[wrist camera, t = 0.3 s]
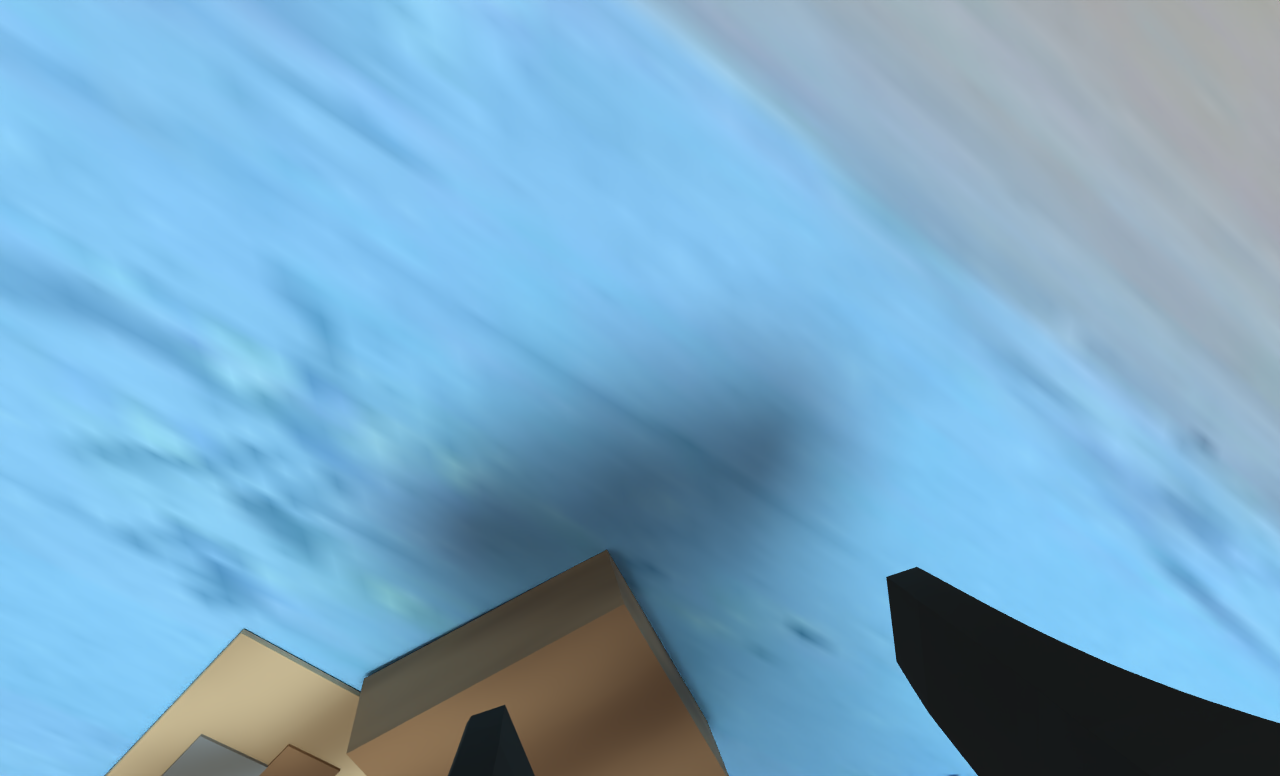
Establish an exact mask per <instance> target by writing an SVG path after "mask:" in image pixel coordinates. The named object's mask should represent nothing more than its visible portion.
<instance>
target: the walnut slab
mask: <svg viewBox="0 0 1280 776" xmlns="http://www.w3.org/2000/svg"><path fill="white" fill-rule="evenodd" d="M502 705H505V706H506V708H507V710H508V713H509V715H510V717H511V720H512V722H513V725H514V727H515V729H516V732H517V734H518V737H519V739H520V741H521V744H522V746H523V749H524V751H525V753H526V756H527V758H528V760H529V763H530V765H531V768H532V770H533V772H534V775H535V776H729V775H728V773H727V770H726V767H725V765H724V762H723V760H722V757H721V755H720V752H719V750H718V747H717V745H716V742H715V740H714V737H713V735H712V732H711V730H710V727H709V725H708V722H707V720H706V719H705V717H704V715H703V713H702V712H701V710H700V708H699V707H698V705H697V703H696V701H695V700H694V698H693V696H692V695H691V693H690V691H689V689H688V688H687V686H686V684H685V683H684V681H683V679H682V677H681V676H680V674H679V672H678V671H677V669H676V667H675V665H674V664H673V662H672V660H671V659H670V657H669V655H668V653H667V652H666V650H665V648H664V647H663V645H662V643H661V641H660V640H659V638H658V636H657V635H656V633H655V631H654V629H653V628H652V626H651V624H650V623H649V621H648V619H647V617H646V616H645V614H644V612H643V611H642V609H641V607H640V605H639V604H638V602H637V600H636V599H635V597H634V595H633V593H632V592H631V590H630V588H629V587H628V585H627V583H626V581H625V580H624V578H623V576H622V575H621V573H620V571H619V569H618V568H617V566H616V564H615V563H614V561H613V559H612V557H611V556H610V554H609V552H608V551H607V550H605V551H603V552H601V553H599V554H598V555H596V556H594V557H592V558H590V559H588V560H586V561H584V562H582V563H580V564H578V565H576V566H574V567H572V568H570V569H568V570H567V571H565V572H563V573H561V574H559V575H557V576H555V577H553V578H552V579H550V580H548V581H546V582H544V583H542V584H540V585H539V586H537V587H535V588H533V589H531V590H529V591H527V592H525V593H524V594H522V595H520V596H518V597H516V598H514V599H512V600H510V601H509V602H507V603H505V604H503V605H501V606H499V607H497V608H495V609H494V610H492V611H490V612H488V613H486V614H484V615H482V616H481V617H479V618H477V619H475V620H473V621H471V622H469V623H467V624H466V625H464V626H462V627H460V628H458V629H456V630H454V631H452V632H451V633H449V634H447V635H445V636H443V637H441V638H439V639H438V640H436V641H434V642H432V643H430V644H428V645H426V646H424V647H423V648H421V649H419V650H417V651H415V652H413V653H411V654H409V655H408V656H406V657H404V658H402V659H400V660H398V661H396V662H395V663H393V664H391V665H389V666H387V667H385V668H383V669H381V670H380V671H378V672H376V673H374V674H372V675H370V676H368V677H366V678H365V679H364V681H363V685H362V689H361V693H360V698H359V702H358V706H357V710H356V715H355V719H354V723H353V727H352V732H351V736H350V740H349V744H348V749H347V753H346V754H347V755H348V756H349V758H350V759H351V760H352V761H353V762H354V763H355V764H356V765H357V766H358V767H359V768H360V769H361V770H362V771H363V773H364V774H365V775H366V776H448V773H449V771H450V768H451V765H452V763H453V760H454V757H455V755H456V752H457V749H458V746H459V743H460V741H461V738H462V735H463V732H464V729H465V727H466V724H467V722H468V720H469V718H470V717H471V716H472V715H475V714H478V713H481V712H484V711H487V710H490V709H493V708H496V707H499V706H502Z"/></svg>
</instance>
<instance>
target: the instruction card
mask: <svg viewBox="0 0 1280 776" xmlns="http://www.w3.org/2000/svg"><path fill="white" fill-rule="evenodd" d="M360 693H361V692H359V691H357V690H355V689H353V688H352V687H350V686H348V685H346V684H344V683H342V682H341V681H339V680H337V679H335V678H333V677H331V676H329V675H328V674H326V673H324V672H322V671H320V670H318V669H317V668H315V667H313V666H311V665H309V664H307V663H306V662H304V661H302V660H300V659H298V658H296V657H295V656H293V655H291V654H289V653H287V652H285V651H283V650H282V649H280V648H278V647H276V646H274V645H272V644H271V643H269V642H267V641H265V640H263V639H261V638H260V637H258V636H256V635H254V634H252V633H250V632H249V631H247V630H245V629H243V630H242V631H241V632H240V633H239V634H238V635H237V636H236V638H235V639H234V640H233V641H232V642H231V643H230V644H229V645H228V646H227V647H226V648H225V649H224V650H223V651H222V652H221V653H220V654H219V655H218V657H217V658H216V659H215V660H214V661H213V662H212V663H211V664H210V665H209V666H208V667H207V668H206V669H205V670H204V671H203V672H202V673H201V675H200V676H199V677H198V678H197V679H196V680H195V681H194V682H193V683H192V684H191V685H190V686H189V687H188V688H187V689H186V690H185V691H184V693H183V694H182V695H181V696H180V697H179V698H178V699H177V700H176V701H175V702H174V703H173V704H172V705H171V706H170V707H169V708H168V709H167V711H166V712H165V713H164V714H163V715H162V716H161V717H160V718H159V719H158V720H157V721H156V722H155V723H154V724H153V725H152V726H151V727H150V729H149V730H148V731H147V732H146V733H145V734H144V735H143V736H142V737H141V738H140V739H139V740H138V741H137V742H136V743H135V744H134V745H133V746H132V748H131V749H130V750H129V751H128V752H127V753H126V754H125V755H124V756H123V757H122V758H121V759H120V760H119V761H118V762H117V763H116V764H115V766H114V767H113V768H112V769H111V770H110V771H109V772H108V773H107V774H106V775H105V776H366V775H365V774H364V773H363V771H362V770H361V769H360V768H359V767H358V766H357V765H356V764H355V763H354V762H353V761H352V760H351V759H350V758H349V756H348V755H347V754H346V753H347V749H348V744H349V740H350V736H351V732H352V727H353V723H354V719H355V715H356V710H357V706H358V702H359V698H360Z"/></svg>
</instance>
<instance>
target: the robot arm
mask: <svg viewBox="0 0 1280 776" xmlns="http://www.w3.org/2000/svg"><path fill="white" fill-rule="evenodd" d="M886 578H887V586H888V594H889V603H890V611H891V619H892V628H893V636H894V644H895V652H896V661H897V663H898V664H899V666H900V668H901V669H902V671H903V673H904V674H905V676H906V678H907V679H908V681H909V683H910V684H911V686H912V687H913V689H914V691H915V692H916V694H917V695H918V697H919V698H920V700H921V702H922V703H923V705H924V706H925V708H926V709H927V711H928V712H929V714H930V715H931V716H932V718H933V719H934V720H935V722H936V723H937V724H938V726H939V727H940V728H941V729H942V731H943V732H944V733H945V734H946V736H947V737H948V738H949V740H950V741H951V742H952V743H953V745H954V746H955V747H956V748H957V750H958V751H959V752H960V754H961V755H962V756H963V757H964V759H965V760H966V761H967V762H968V764H969V765H970V766H971V767H972V769H973V770H974V771H975V772H976V774H977V775H978V776H1280V723H1277V722H1274V721H1270V720H1267V719H1263V718H1260V717H1257V716H1254V715H1251V714H1248V713H1245V712H1242V711H1238V710H1235V709H1232V708H1229V707H1226V706H1223V705H1220V704H1217V703H1213V702H1210V701H1207V700H1205V699H1202V698H1199V697H1196V696H1193V695H1190V694H1187V693H1184V692H1182V691H1179V690H1176V689H1174V688H1171V687H1168V686H1166V685H1163V684H1160V683H1158V682H1155V681H1153V680H1150V679H1147V678H1145V677H1142V676H1140V675H1137V674H1134V673H1132V672H1129V671H1127V670H1124V669H1122V668H1119V667H1117V666H1115V665H1112V664H1110V663H1107V662H1105V661H1103V660H1100V659H1098V658H1096V657H1094V656H1092V655H1089V654H1087V653H1085V652H1083V651H1080V650H1078V649H1076V648H1074V647H1072V646H1069V645H1067V644H1065V643H1063V642H1060V641H1058V640H1056V639H1054V638H1052V637H1050V636H1048V635H1046V634H1044V633H1042V632H1040V631H1038V630H1036V629H1034V628H1031V627H1029V626H1027V625H1025V624H1023V623H1022V622H1020V621H1018V620H1016V619H1014V618H1012V617H1010V616H1008V615H1006V614H1004V613H1002V612H1000V611H998V610H996V609H994V608H992V607H990V606H989V605H987V604H985V603H983V602H981V601H979V600H977V599H975V598H974V597H972V596H970V595H968V594H966V593H964V592H962V591H961V590H959V589H957V588H955V587H953V586H951V585H950V584H948V583H946V582H944V581H942V580H940V579H939V578H937V577H935V576H933V575H931V574H929V573H928V572H926V571H924V570H922V569H920V568H918V567H915V568H912V569H909V570H906V571H903V572H900V573H897V574H894V575H891V576H888V577H886ZM448 776H535V775H534V772H533V770H532V768H531V765H530V763H529V760H528V758H527V756H526V753H525V751H524V749H523V746H522V744H521V741H520V739H519V737H518V734H517V732H516V729H515V727H514V725H513V722H512V720H511V717H510V715H509V713H508V710H507V708H506V706H505V705H502V706H499V707H496V708H493V709H490V710H487V711H484V712H481V713H478V714H475V715H472V716H471V717H470V718H469V720H468V722H467V724H466V727H465V729H464V732H463V735H462V738H461V741H460V743H459V746H458V749H457V752H456V755H455V757H454V760H453V763H452V765H451V768H450V771H449V773H448Z"/></svg>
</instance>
